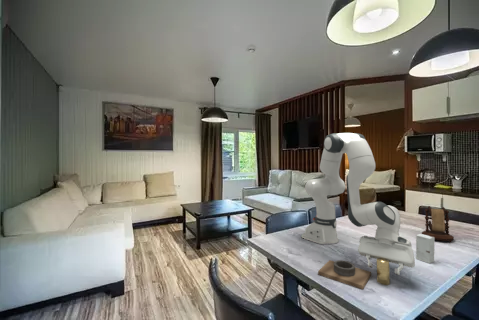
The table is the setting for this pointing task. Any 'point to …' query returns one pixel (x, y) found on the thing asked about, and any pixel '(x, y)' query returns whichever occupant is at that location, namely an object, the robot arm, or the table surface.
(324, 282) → the table surface
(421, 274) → the table surface
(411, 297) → the table surface
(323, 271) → the ring holder
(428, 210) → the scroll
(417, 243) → the skincare box
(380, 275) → the cylinder
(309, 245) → the table surface
